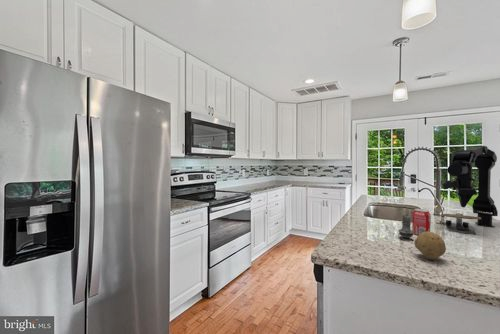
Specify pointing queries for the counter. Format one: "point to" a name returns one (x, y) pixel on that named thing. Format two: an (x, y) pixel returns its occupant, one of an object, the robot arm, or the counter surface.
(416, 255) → the counter surface
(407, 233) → the dark grey tall piece
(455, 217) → the instrument deck
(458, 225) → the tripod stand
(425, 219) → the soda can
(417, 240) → the potato
